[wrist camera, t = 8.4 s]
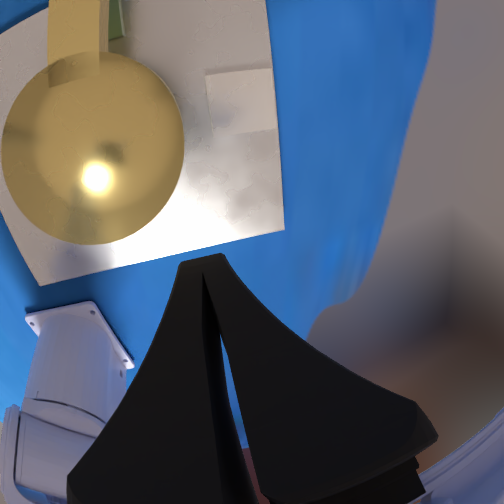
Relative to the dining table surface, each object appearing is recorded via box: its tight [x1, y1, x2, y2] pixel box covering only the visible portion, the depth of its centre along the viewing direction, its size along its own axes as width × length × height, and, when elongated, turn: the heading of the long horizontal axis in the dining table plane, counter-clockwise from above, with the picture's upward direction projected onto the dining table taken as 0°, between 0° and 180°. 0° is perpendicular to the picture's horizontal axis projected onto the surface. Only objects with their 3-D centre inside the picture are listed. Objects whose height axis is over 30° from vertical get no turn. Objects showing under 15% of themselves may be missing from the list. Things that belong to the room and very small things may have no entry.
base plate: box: [0, 0, 284, 286], centre depth 13 cm, size 18×19×4 cm
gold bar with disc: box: [1, 0, 184, 245], centre depth 10 cm, size 15×8×5 cm, turn 179°
